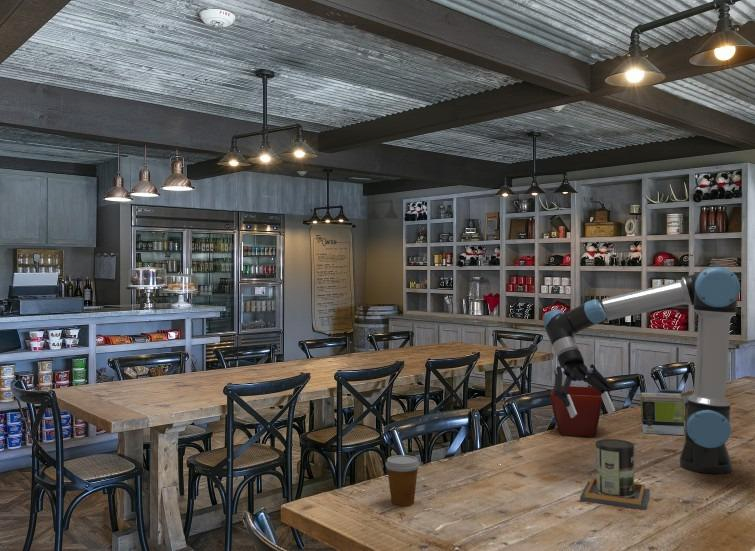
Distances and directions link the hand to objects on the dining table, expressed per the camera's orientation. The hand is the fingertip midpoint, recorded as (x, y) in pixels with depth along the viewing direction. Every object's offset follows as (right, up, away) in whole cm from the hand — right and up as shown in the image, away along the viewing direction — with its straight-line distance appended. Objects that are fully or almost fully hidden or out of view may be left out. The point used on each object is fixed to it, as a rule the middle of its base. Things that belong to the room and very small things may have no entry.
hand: (593, 414), depth 199 cm
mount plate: (+2, -20, -14) cm, 25 cm away
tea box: (+47, -20, +59) cm, 78 cm away
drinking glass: (+60, -19, +81) cm, 103 cm away
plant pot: (+13, -20, +59) cm, 64 cm away
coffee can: (+2, -19, -14) cm, 24 cm away
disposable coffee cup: (-59, -21, -17) cm, 65 cm away
